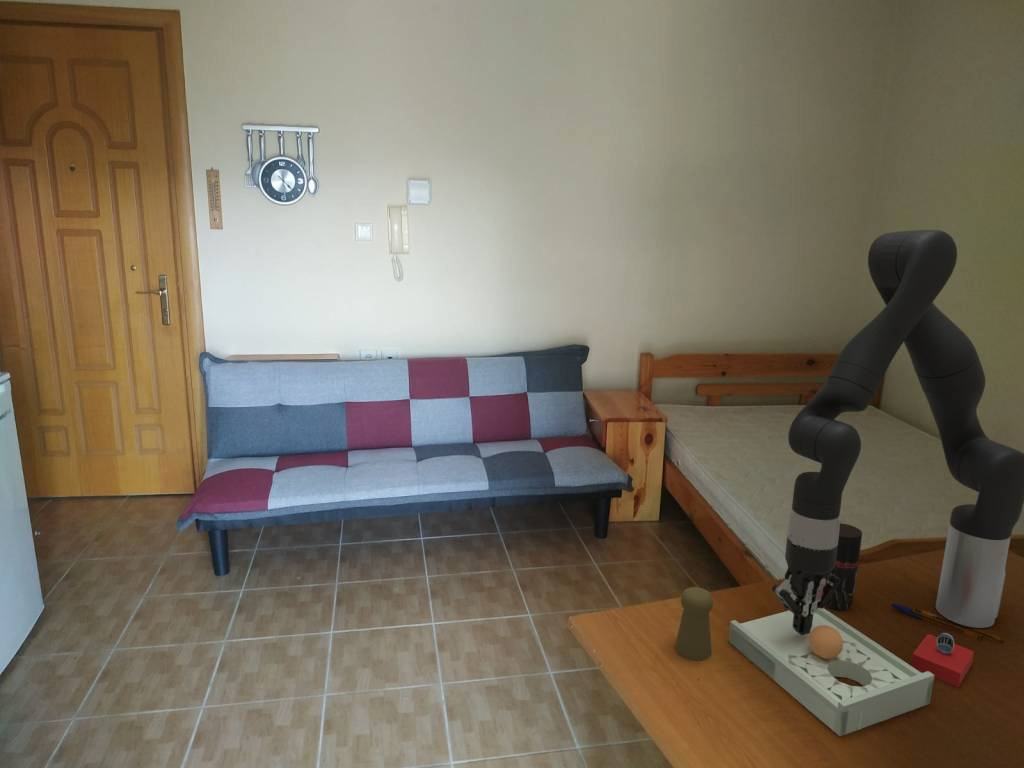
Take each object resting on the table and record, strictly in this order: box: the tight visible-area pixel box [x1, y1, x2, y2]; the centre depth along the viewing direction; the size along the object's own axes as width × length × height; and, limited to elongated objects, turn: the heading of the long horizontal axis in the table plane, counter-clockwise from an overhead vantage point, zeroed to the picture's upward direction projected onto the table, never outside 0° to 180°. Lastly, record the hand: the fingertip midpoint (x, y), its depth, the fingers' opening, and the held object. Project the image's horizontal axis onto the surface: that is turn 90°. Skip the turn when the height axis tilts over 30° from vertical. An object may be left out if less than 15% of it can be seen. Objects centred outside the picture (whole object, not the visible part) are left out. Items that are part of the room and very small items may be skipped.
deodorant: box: [821, 522, 863, 612], centre depth 130 cm, size 6×6×15 cm
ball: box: [809, 625, 843, 659], centre depth 111 cm, size 5×5×5 cm
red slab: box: [910, 632, 975, 688], centre depth 113 cm, size 8×7×6 cm
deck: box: [728, 607, 935, 737], centre depth 112 cm, size 18×24×5 cm
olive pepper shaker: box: [674, 586, 714, 662], centre depth 116 cm, size 6×6×11 cm
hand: (801, 631), depth 116 cm, fingers closed
